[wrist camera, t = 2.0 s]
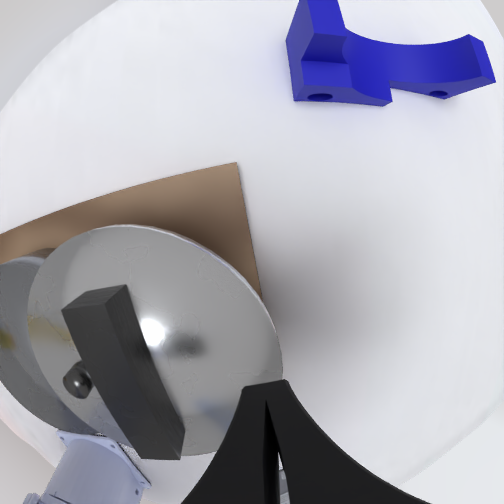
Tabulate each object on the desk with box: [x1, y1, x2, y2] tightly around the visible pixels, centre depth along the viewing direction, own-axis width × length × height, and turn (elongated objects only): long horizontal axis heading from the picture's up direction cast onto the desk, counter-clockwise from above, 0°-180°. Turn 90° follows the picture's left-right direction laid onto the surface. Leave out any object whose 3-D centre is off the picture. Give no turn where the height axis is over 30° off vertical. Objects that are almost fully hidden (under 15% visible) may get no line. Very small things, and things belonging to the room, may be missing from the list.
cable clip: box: [286, 0, 496, 106], centre depth 12 cm, size 12×4×6 cm, turn 95°
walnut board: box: [0, 162, 263, 302], centre depth 17 cm, size 16×24×1 cm, turn 101°
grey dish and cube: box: [0, 248, 100, 435], centre depth 14 cm, size 12×18×4 cm, turn 101°
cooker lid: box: [27, 224, 283, 460], centre depth 10 cm, size 13×13×3 cm
